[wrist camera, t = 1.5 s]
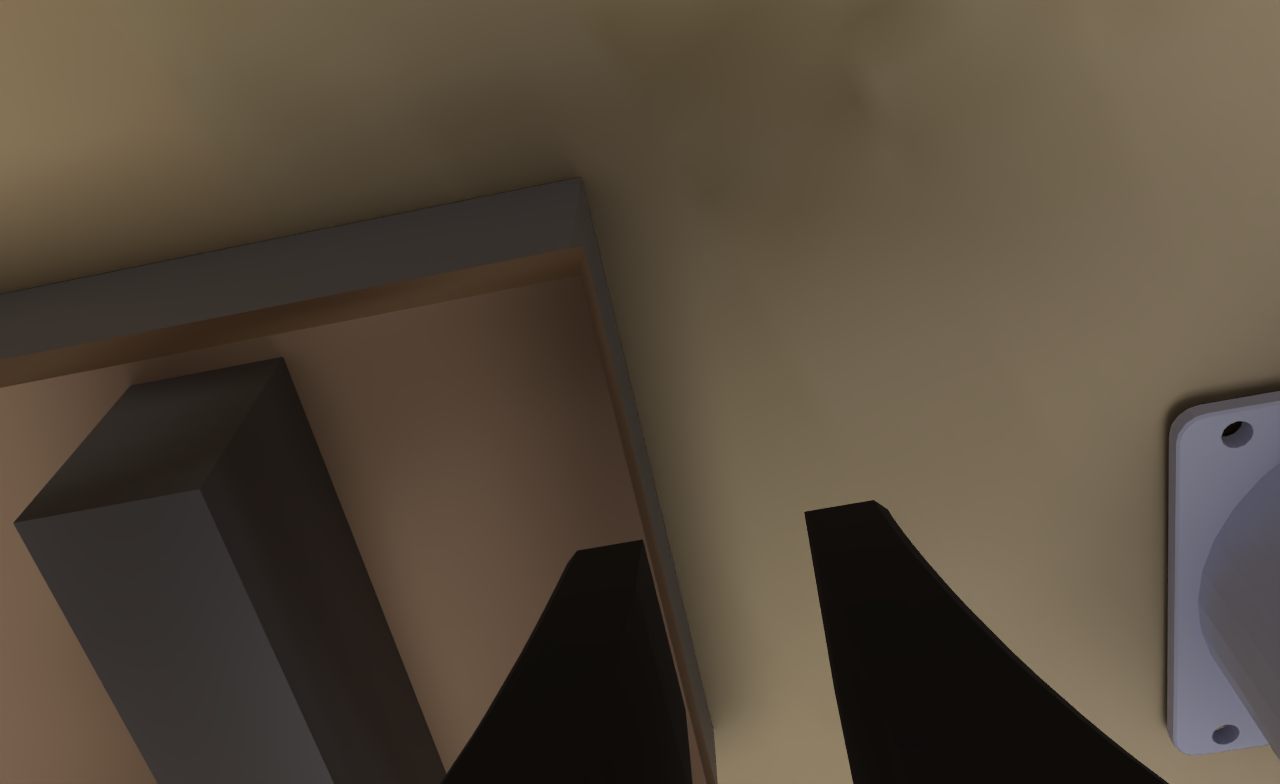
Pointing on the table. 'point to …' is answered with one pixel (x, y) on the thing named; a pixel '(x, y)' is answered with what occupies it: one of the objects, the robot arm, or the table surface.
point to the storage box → (340, 267)
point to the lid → (305, 530)
